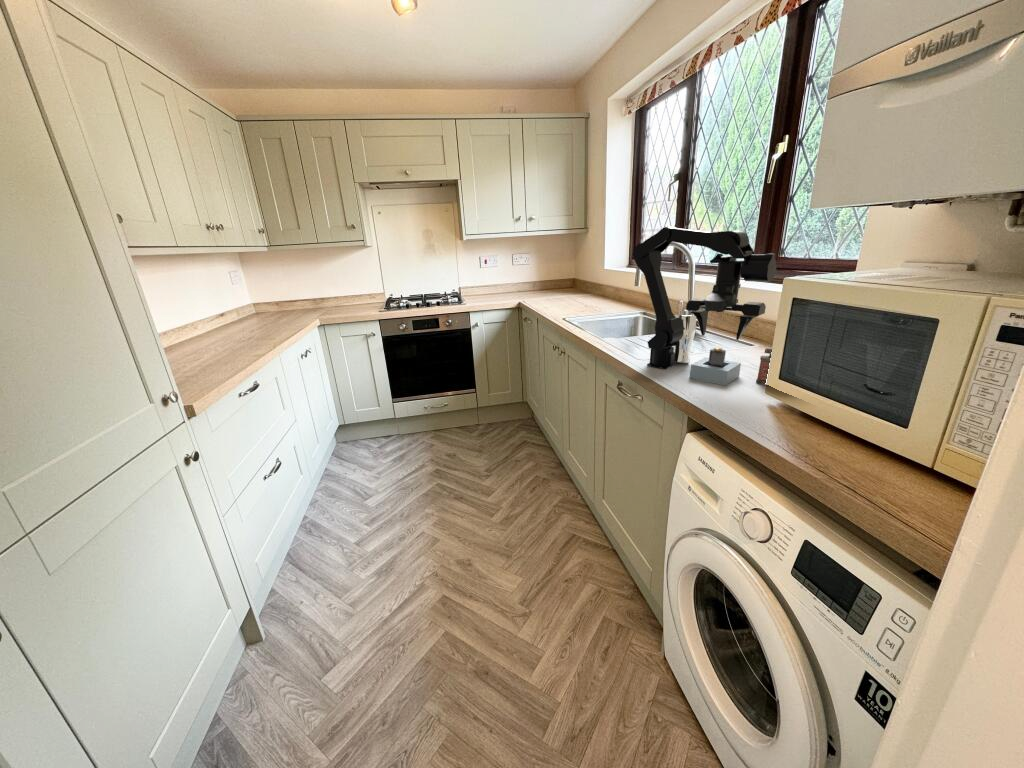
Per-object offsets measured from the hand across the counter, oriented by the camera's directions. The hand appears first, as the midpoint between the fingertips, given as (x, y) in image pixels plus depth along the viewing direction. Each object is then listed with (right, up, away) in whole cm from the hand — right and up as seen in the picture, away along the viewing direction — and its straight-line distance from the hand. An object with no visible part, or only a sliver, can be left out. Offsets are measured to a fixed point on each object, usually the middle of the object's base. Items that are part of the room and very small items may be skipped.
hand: (719, 337), depth 111 cm
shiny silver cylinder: (-4, -6, +18) cm, 19 cm away
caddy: (0, -11, +4) cm, 12 cm away
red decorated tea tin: (+13, -13, -3) cm, 19 cm away
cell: (0, -11, +4) cm, 11 cm away
